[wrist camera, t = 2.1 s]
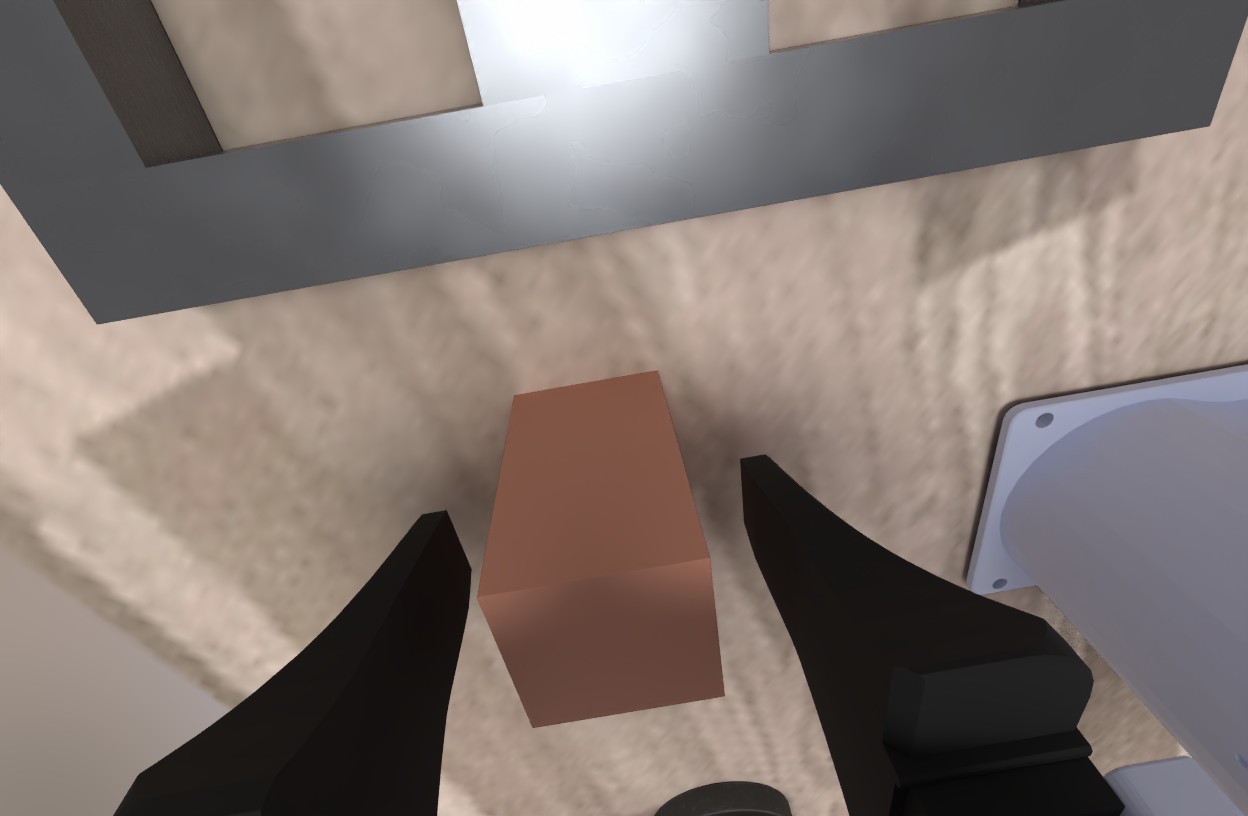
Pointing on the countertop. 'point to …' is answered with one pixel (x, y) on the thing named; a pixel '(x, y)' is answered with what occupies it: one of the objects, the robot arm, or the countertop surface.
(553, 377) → the countertop surface
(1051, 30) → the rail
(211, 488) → the countertop surface
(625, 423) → the square block
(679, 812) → the flashlight
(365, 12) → the countertop surface
